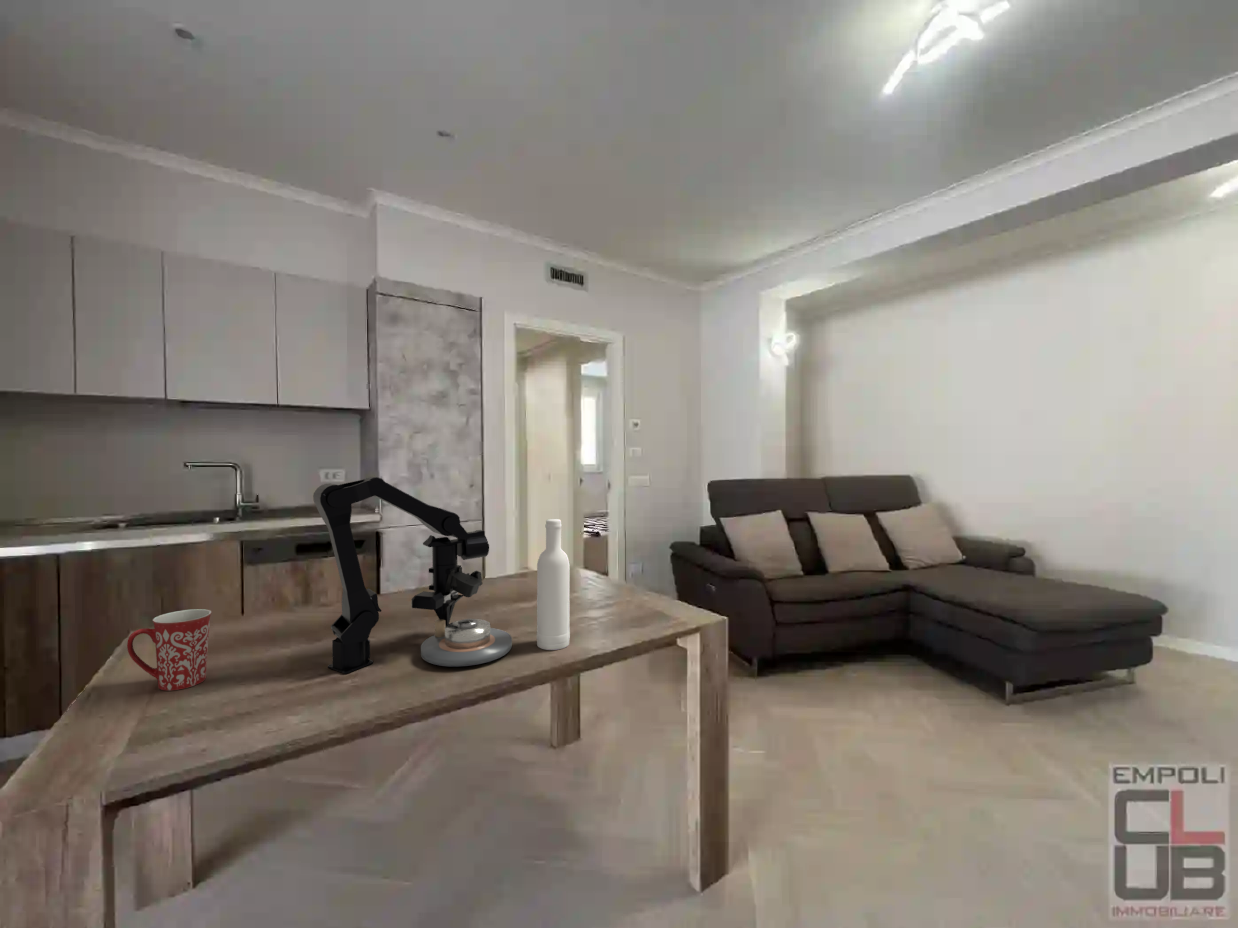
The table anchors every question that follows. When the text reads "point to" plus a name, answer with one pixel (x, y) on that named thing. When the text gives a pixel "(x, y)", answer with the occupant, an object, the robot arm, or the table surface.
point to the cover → (467, 634)
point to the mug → (177, 648)
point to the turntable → (444, 656)
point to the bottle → (553, 591)
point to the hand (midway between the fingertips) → (445, 626)
